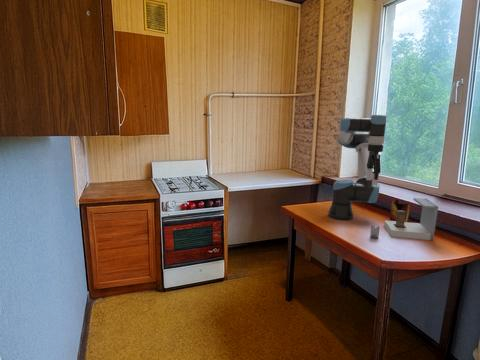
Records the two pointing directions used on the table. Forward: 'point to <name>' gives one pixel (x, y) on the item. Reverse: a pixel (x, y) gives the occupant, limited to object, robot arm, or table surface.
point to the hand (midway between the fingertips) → (371, 182)
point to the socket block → (417, 229)
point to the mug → (398, 206)
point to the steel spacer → (374, 232)
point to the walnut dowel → (400, 219)
